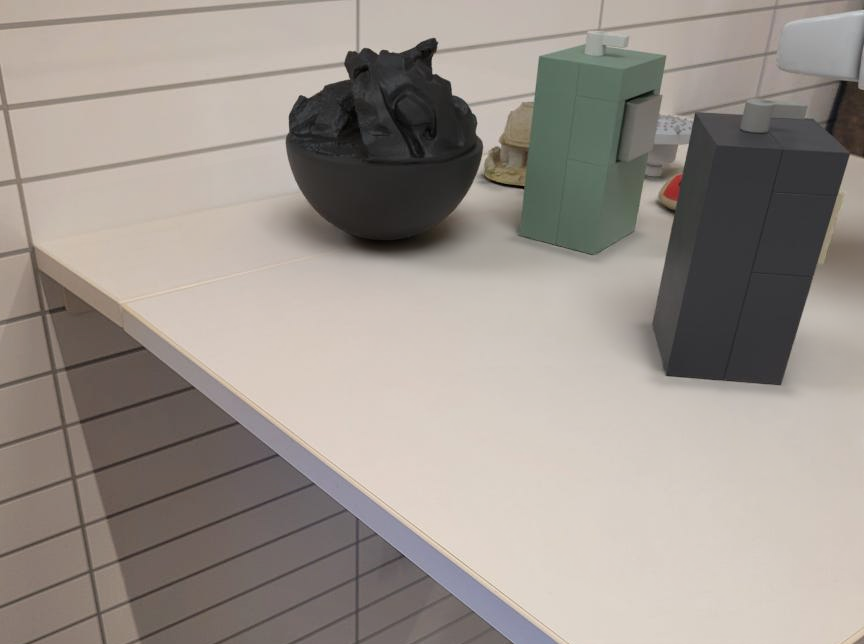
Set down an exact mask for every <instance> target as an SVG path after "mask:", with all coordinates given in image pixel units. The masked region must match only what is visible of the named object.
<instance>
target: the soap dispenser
mask: <svg viewBox="0 0 864 644" xmlns="http://www.w3.org/2000/svg"><path fill="white" fill-rule="evenodd" d="M629 42H630V35H627V34H619V33H612V32H607V31H604V30H588V31H587V32H586V37H585V43H584V44H580V45H576V46H573V47H569V48H565V49H561V50H556V51H553V52H549V53H546V54H542V55H539V56H538V61H537V62H538V63H537V71H536V79H535V80H536V82H535V89H534V98H533V102H534V106H533V115H532V124H531V133H530V142H529V151H528V160H527V169H526V178H525V186H523V196H522V197H523V198H522V205H521V206H522V207H521V215H520V224H519V234H518V236H520V237H524V238H528V239H531V240H536V241H540V242H543V243H546V244H551V245H554V246H559V247H563V248H566V249H570V250H573V251H577V252H581V253H586V254H588V255H593V256H595V255H596V254H598V253H600V252H601V251H603V250H605V249H607V248H608V247H610V246H611V245H613V244H615V243H617V242H618V241H620V240H622V239H623V238H625V237H627V236H628V235H630V234H631V233H633V232H635V231H636V226H637V221H638V216H639V210H640V204H641V200H642V199H641V198H642V193H643V187H644V182H645V176H646V175H645V171H646V166H647V160H648V155H649V152H647V153H645V154H643V155H641V156H639V157H637V158H635V159H633V160H631V161H629V162H626V161H621V160H616V155H617V149H618V143H619V136H620V130H621V124H622V118H623V112H624V106H625V102H628V101H630V100H633V99H636V98H638V97H641V96H644V95H646V94H649V93H653V94H659V95H661V89H662V88H661V87H662V83H663V78H664V73H665V72H664V71H665V66H666V61H667V54H660V53H655V52H654V53H652V52H647V51H639V50H631V49H625V48H628V47H629Z"/></svg>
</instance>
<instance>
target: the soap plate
mask: <svg viewBox="0 0 864 644" xmlns="http://www.w3.org/2000/svg"><path fill="white" fill-rule="evenodd" d="M662 100H663V94H653V93H649V94H646V95H644V96H641V97H638V98H636V99H633V100H630V101H628V102H625V106H624V112H623V118H622V124H621V130H620V136H619V143H618V149H617V155H616V160H621V161H626V162H629V161H631V160H633V159H635V158H637V157H639V156H641V155H643V154H645V153H647V152H650V151H652V150H653V145H654V140H655V134H656V129H657V123H658V118H659V114H660V111H661V106H662Z"/></svg>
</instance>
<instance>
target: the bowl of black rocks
mask: <svg viewBox="0 0 864 644" xmlns="http://www.w3.org/2000/svg"><path fill="white" fill-rule="evenodd" d="M438 45H439V41H437V38H435V37H431V38H428V39H427V38H426V40H422V41H420V42H419V43H417V44H416V45H415V46H413V47H411V48H410V49H407V50H404V51H401V52H394V51H392V52H390V51H389V50H388V49H381V50H380V51H379V53H377V52H375V51H374V50H372V49H371V48H369V47H363V48H362V49H361V50H360V51H359V52H357V51H356V50H353V51H352V50H348V51H347V53H346V55H345V59H344V62H343V65H344V68H345V71H346V72H347V74H348V78H349V79H343V80H340V81H337V82H333V83H328V84H325V85H324V86H323V88H322V90H320V91H319V92H317V93H315V94H313V95H312V96H310V97H307V96H305V95H302V94H300V95H298V97H297V99H296V101H295V102H294V104H293V106H292V108H291V110H290V112H289V113H288V114H289V115H288V133H287V134H286V137H285V150H286V155H287V161H288V164H289V167H290V170H291V173H292V175H293V178H294V181H295V183H296V184H297V187H298V188H299V190H300V192H301V194H302V195H303V197H304V198H305V200H306V201H307V202H308V203H309V205H310V206H311V207H312V208H313V209H314V210H315V212H316V213H318V214H319V215H320V216H321V217H322V218H323V219H324V220H325V221H327V222H328V223H330V224H331V225H333V226H334V227H336V228H338V229H339V230H341V231H343V232H345V233H347V234H349V235H353V236H356V237H359V238H362V239H367V240H375V241H395V240H402V239H406V238H410V237H415V236H416V235H420V234H422V233H424V232H427V231H428V230H431V229H432V228H433V227H435V226H437V225H438V224H440V223H441V222H442V221H444V220H445V219H446V218H447V217H448V216H449V215H450V214H452V213H453V212H454V210H456V209H457V207H458V206H459V205H460V204H461V202H463V200H464V198H465V197H466V195H467V194H468V192H469V191H470V189H471V187H472V186H473V183H474V181H475V179H476V176H477V175H478V171H479V169H480V165H481V162H482V157H483V153H484V142H483V140H482V138H480V137H479V136H478V135H477V129H478V128H477V127H478V124H479V123H478V118H477V116H476V114H475V113H473V112H472V108H471V107H470V106H469V104H468V102H466V100H465V99H464V98H462V97H459V96H457V95H456V94H455V95H454V94H453V88H452V83H451V81H450V80H448V79H446V78H443V77H442V76H441V75H439V74H437V73H433V57H434V55H435V54H437V51H438Z"/></svg>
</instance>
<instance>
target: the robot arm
mask: <svg viewBox="0 0 864 644" xmlns="http://www.w3.org/2000/svg"><path fill="white" fill-rule="evenodd" d="M775 66H776V67H777V69H779V70H780V71H782V72H785V73H789V74H795V75H801V76H808V77H814V78H823V79H828V80H829V79H830V80H836V81H844V82H855V83H856V82H857V83H858V85H857V87H858V89H859V90H862V91H864V9H859V10H852V11H846V12H845V11H844V12H839V13H832V14H825V15H819V16H812V17H807V18H800V19H796V20H792V21H789V22H787V23H785V24H783V25H782V26H781V28H780V30H779V36H778V43H777V48H776V56H775Z"/></svg>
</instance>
